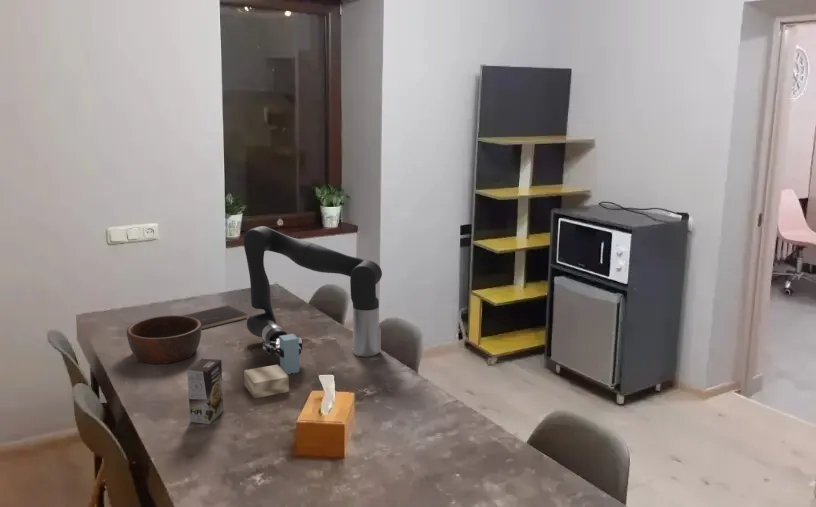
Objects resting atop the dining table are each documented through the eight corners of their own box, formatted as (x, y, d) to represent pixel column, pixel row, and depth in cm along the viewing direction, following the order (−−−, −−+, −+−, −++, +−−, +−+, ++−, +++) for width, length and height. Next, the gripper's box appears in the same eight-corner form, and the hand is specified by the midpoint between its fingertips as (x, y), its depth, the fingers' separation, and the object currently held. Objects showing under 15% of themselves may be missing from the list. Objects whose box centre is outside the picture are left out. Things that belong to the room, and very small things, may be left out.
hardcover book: (247, 319, 289) (247, 314, 288) (195, 332, 273) (195, 326, 273) (227, 310, 300) (227, 304, 300) (176, 321, 285) (176, 316, 284)
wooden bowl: (201, 338, 266) (199, 312, 264) (204, 363, 243) (203, 334, 240) (130, 344, 258) (128, 318, 256) (126, 371, 235) (124, 342, 233)
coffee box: (210, 424, 199) (207, 371, 196) (189, 422, 201) (186, 369, 197) (224, 410, 208) (222, 359, 204) (204, 408, 209) (201, 357, 206)
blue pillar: (294, 366, 240) (293, 333, 238) (299, 372, 236) (298, 338, 233) (280, 369, 238) (279, 335, 235) (284, 374, 234) (284, 340, 231)
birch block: (277, 378, 231) (277, 364, 230) (288, 391, 221) (288, 376, 220) (244, 384, 226) (244, 370, 225) (254, 398, 216) (253, 383, 215)
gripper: (255, 330, 244) (270, 346, 229) (294, 324, 251) (311, 339, 236) (255, 350, 246) (270, 367, 231) (295, 343, 252) (312, 360, 238)
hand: (291, 353), depth 234 cm, fingers closed on blue pillar, 5 cm apart
